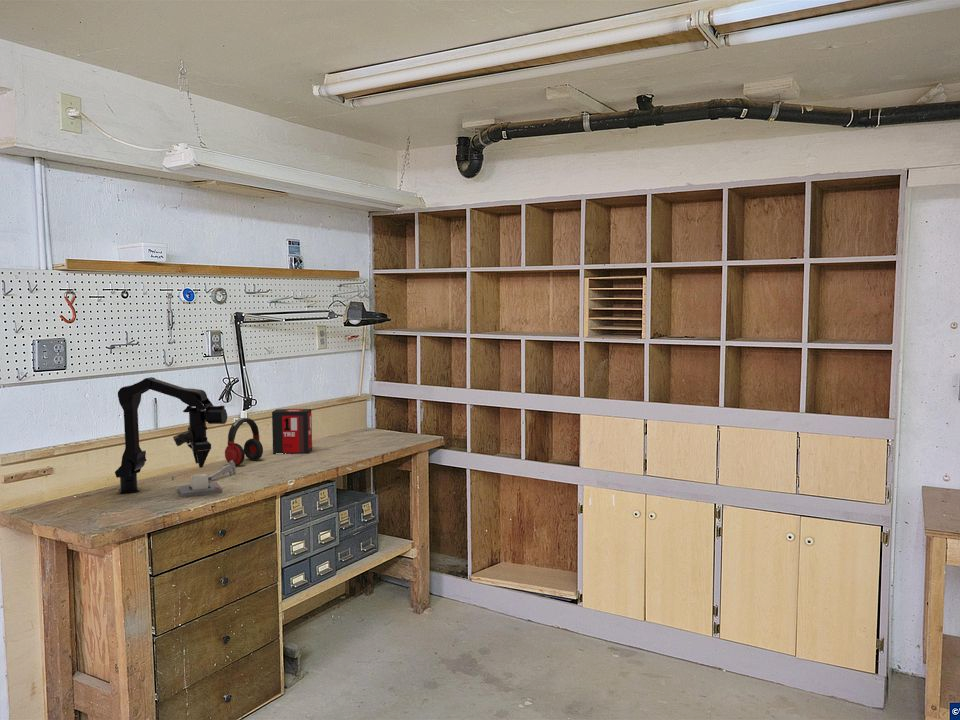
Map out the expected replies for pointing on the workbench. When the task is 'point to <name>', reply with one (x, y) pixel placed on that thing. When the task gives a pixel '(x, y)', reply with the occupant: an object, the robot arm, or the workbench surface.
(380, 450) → the workbench surface
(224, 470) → the caliper
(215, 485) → the socket
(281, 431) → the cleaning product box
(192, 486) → the plug
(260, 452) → the headphones
